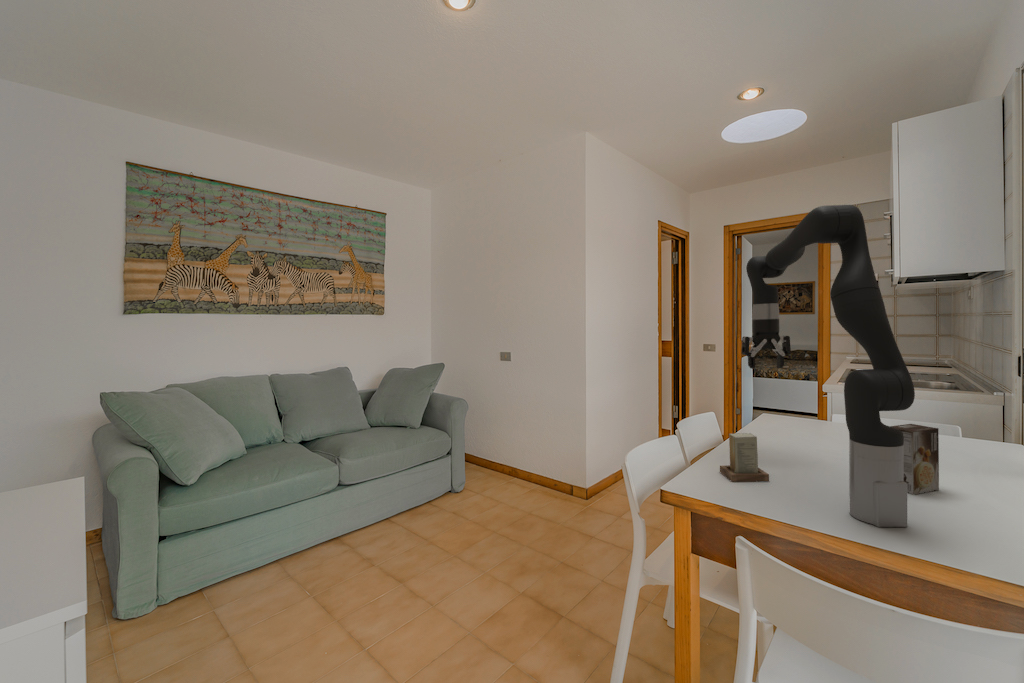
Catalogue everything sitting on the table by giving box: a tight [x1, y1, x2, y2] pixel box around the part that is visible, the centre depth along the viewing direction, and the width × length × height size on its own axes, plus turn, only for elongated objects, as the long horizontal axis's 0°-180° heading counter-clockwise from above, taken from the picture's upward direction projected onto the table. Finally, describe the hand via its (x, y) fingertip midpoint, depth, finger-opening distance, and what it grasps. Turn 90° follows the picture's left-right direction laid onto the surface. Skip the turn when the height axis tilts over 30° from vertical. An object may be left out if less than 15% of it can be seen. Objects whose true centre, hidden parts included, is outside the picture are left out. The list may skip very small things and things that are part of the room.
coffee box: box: [890, 423, 940, 495], centre depth 112 cm, size 9×6×16 cm
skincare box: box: [728, 432, 759, 473], centre depth 124 cm, size 6×4×12 cm
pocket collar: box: [719, 464, 770, 483], centre depth 124 cm, size 8×10×2 cm
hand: (766, 368), depth 140 cm, fingers open, 8 cm apart
